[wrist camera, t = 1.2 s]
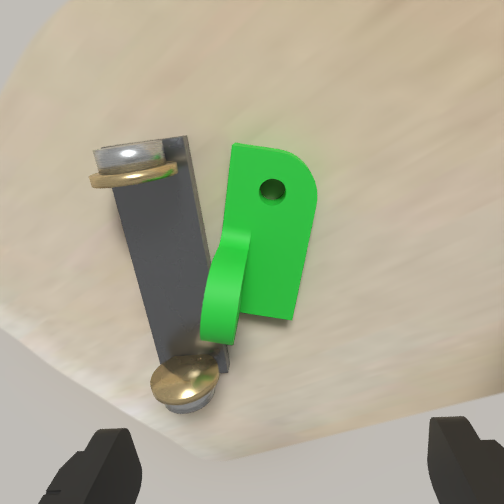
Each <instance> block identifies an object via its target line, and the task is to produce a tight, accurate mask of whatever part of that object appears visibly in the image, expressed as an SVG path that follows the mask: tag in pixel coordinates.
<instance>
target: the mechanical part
mask: <svg viewBox="0 0 504 504" xmlns="http://www.w3.org/2000/svg"><path fill="white" fill-rule="evenodd" d="M268 179H277V180H279V181H281V182H282V183H283V184H284V186H285V188H286V189H285V192H284V194H283V195H282V196H281V197H280V198H278V199H275V200H271V199H267V198H266V197H264V196H263V194H262V193H261V190H260V186H261V184H262V183H263V182H264V181H266V180H268ZM316 204H317V188H316V184H315V181H314V178H313V176H312V174H311V172H310V171H309V169H308V167H307V166H306V165H305V163H304V162H303V161H302V160H301V159H300V158H298V157H297V156H295V155H294V154H292V153H290V152H287V151H284V150H280V149H273V148H267V147H260V146H253V145H247V144H240V143H234V144H233V145H232V150H231V159H230V168H229V177H228V185H227V194H226V203H225V212H224V221H223V229H222V235H221V240H220V244H219V247H218V249H217V251H216V254H215V256H214V258H213V261H212V264H211V267H210V271H209V275H208V279H207V283H206V288H205V294H204V299H203V306H202V313H201V322H200V339H201V341H208V342H214V343H220V344H227V345H233V344H234V339H235V334H236V329H237V324H238V319H239V314H240V312H242V313H248V314H254V315H261V316H267V317H274V318H280V319H286V320H292V318H293V313H294V309H295V304H296V299H297V294H298V290H299V285H300V280H301V276H302V271H303V266H304V261H305V257H306V252H307V247H308V242H309V238H310V233H311V228H312V224H313V219H314V214H315V209H316Z"/></svg>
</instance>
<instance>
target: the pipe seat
mask: <svg viewBox="0 0 504 504" xmlns="http://www.w3.org/2000/svg"><path fill="white" fill-rule="evenodd" d="M93 153H94V157H95V160H96V164H97V167H98V171H99V173H96V174H93V175H90V176H89V179H90V182H91V186H92V187H93V188H112V190H113V193H114V197H115V200H116V204H117V208H118V211H119V215H120V219H121V222H122V226H123V230H124V233H125V237H126V240H127V244H128V248H129V251H130V255H131V259H132V262H133V266H134V270H135V273H136V277H137V281H138V284H139V288H140V291H141V295H142V299H143V302H144V306H145V310H146V313H147V317H148V321H149V324H150V328H151V331H152V335H153V339H154V342H155V346H156V350H157V353H158V357H159V361H160V364H161V365H160V366H159V367H158V368H157V369H156V370H155V372H154V373H153V375H152V377H151V381H150V385H151V389H152V392H153V395H154V397H155V398H156V399H157V400H158V401H159V402H161V403H164V404H165V406H166V408H167V409H168V410H170V411H171V412H174V413H178V414H185V413H191V412H194V411H197V410H199V409H201V408H202V407H204V406H205V405H206V404H207V403H208V402H209V401H210V400H211V399H212V397H213V395H214V392H215V385H216V384H217V382H218V379H219V373H228V370H229V365H230V361H229V356H228V351H227V345H226V344H220V343H214V342H208V341H201V339H200V322H201V313H202V306H203V299H204V294H205V288H206V283H207V279H208V275H209V271H210V267H211V260H210V255H209V250H208V244H207V239H206V234H205V229H204V223H203V218H202V213H201V207H200V202H199V197H198V191H197V186H196V181H195V175H194V170H193V165H192V160H191V154H190V149H189V144H188V138H187V136H179V137H172V138H165V139H158V140H150V141H143V142H136V143H129V144H122V145H114V146H108V147H103V148H101V149H97V150H93Z"/></svg>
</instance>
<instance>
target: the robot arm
mask: <svg viewBox="0 0 504 504" xmlns="http://www.w3.org/2000/svg"><path fill="white" fill-rule="evenodd" d="M427 462H428V470H429V475H430V479H431V483H432V486H433V489H434V491H435V493H436V496H437V499H438V501H439V503H440V504H504V448H503V447H502V446H501V445H500V444H499V443H498V442H497V441H495V440H480V439H479V437H478V435H477V434H476V432H475V430H474V429H473V427H472V425H471V424H470V422H469V421H468V420H467V419H466V418H465V417H464V416H459V417H458V416H457V417H433V418H431V419H430V426H429V442H428V457H427ZM141 481H142V468H141V464H140V461H139V458H138V455H137V452H136V449H135V446H134V443H133V440H132V438H131V435H130V432H129V430H128V429H126V428H118V429H100V430H98V431H97V432H95V434H94V435H93V437H92V438H91V440H90V442H89V444H88V446H87V447H86V449H85V451H77V452H76V454H74V455H73V456H72V457H71V458H70V459H69V460H68V461H67V462H66V463H65V464H64V465H63V466H62V467H61V468H60V469H59V471H58V473H57V474H56V476H55V477H54V479H53V481H52V482H51V484H50V485H49V487H48V489H47V490H46V494H45V495H43V497H42V498H41V500H40V502H39V503H38V504H135V502H136V499H137V496H138V494H139V491H140V487H141Z"/></svg>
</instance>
